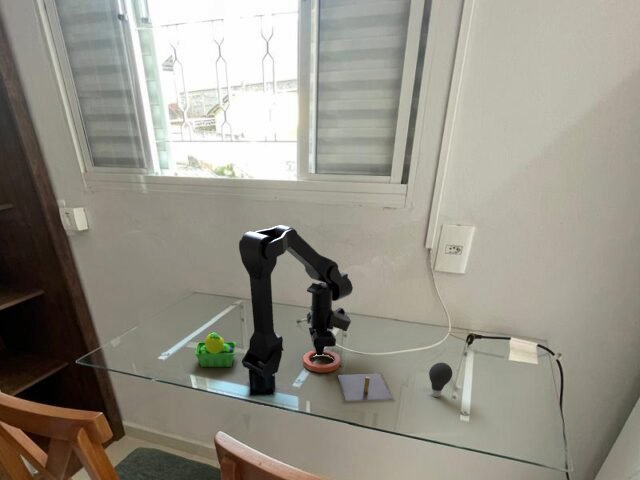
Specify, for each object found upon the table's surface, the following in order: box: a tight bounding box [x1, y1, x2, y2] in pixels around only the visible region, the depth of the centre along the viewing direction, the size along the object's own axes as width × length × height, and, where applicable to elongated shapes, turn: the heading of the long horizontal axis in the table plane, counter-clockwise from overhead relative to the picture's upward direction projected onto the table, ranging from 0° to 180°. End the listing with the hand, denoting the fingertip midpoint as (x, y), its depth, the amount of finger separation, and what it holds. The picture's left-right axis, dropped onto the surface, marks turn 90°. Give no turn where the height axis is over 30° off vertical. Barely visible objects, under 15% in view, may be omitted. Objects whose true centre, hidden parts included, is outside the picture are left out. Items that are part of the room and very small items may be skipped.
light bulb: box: [428, 362, 453, 398], centre depth 107 cm, size 6×6×10 cm
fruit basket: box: [194, 332, 236, 368], centre depth 121 cm, size 11×9×11 cm
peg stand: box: [337, 373, 393, 402], centre depth 112 cm, size 12×13×5 cm
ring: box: [302, 349, 342, 373], centre depth 122 cm, size 11×11×2 cm
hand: (319, 354), depth 126 cm, fingers closed on ring, 2 cm apart
